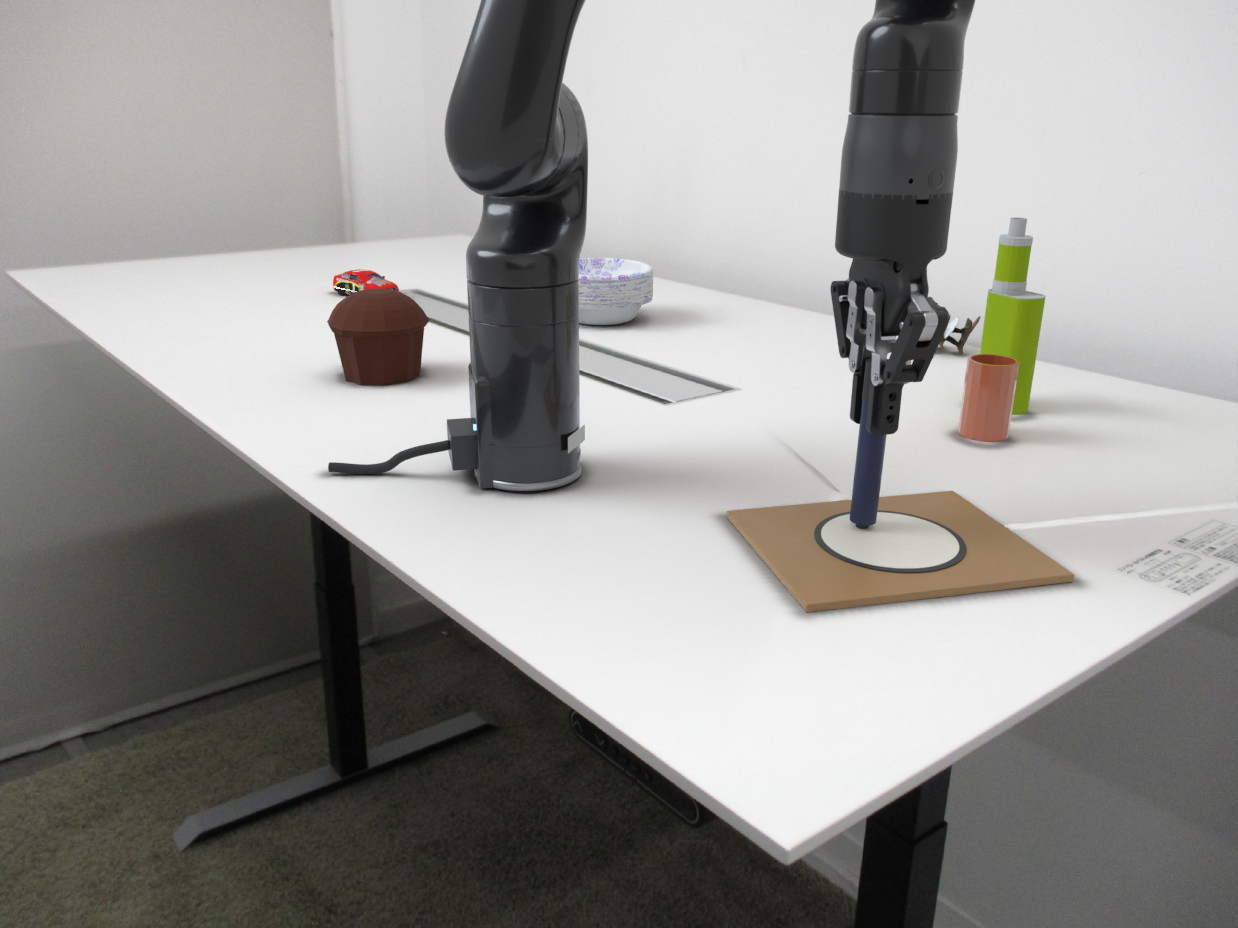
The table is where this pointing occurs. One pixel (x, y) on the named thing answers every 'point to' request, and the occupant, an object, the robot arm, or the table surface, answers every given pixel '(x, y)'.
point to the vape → (1014, 311)
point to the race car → (361, 281)
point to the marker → (867, 465)
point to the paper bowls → (612, 290)
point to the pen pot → (988, 397)
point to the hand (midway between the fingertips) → (873, 426)
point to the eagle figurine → (954, 327)
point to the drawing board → (892, 551)
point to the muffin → (379, 336)
